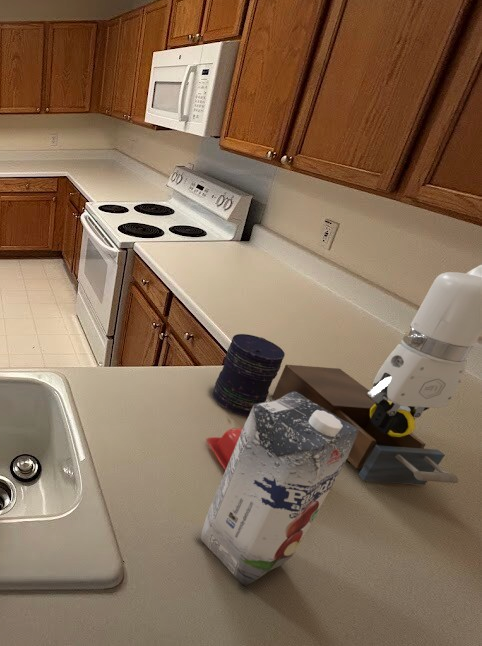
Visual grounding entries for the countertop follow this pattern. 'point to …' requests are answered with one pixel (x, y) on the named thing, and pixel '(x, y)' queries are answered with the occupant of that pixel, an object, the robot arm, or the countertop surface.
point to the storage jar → (247, 373)
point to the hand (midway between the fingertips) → (386, 427)
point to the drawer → (392, 454)
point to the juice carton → (275, 484)
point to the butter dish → (225, 445)
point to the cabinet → (324, 388)
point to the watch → (409, 417)
